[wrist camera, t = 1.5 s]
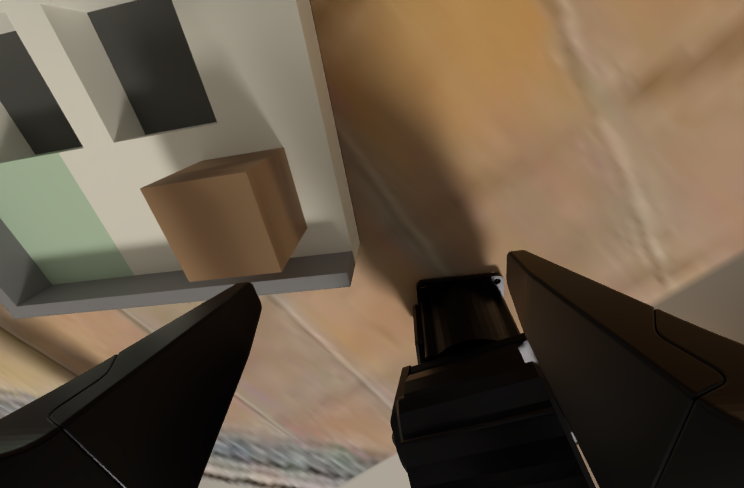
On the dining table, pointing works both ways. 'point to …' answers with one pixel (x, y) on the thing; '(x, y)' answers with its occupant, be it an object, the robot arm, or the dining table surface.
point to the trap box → (154, 143)
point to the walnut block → (230, 215)
